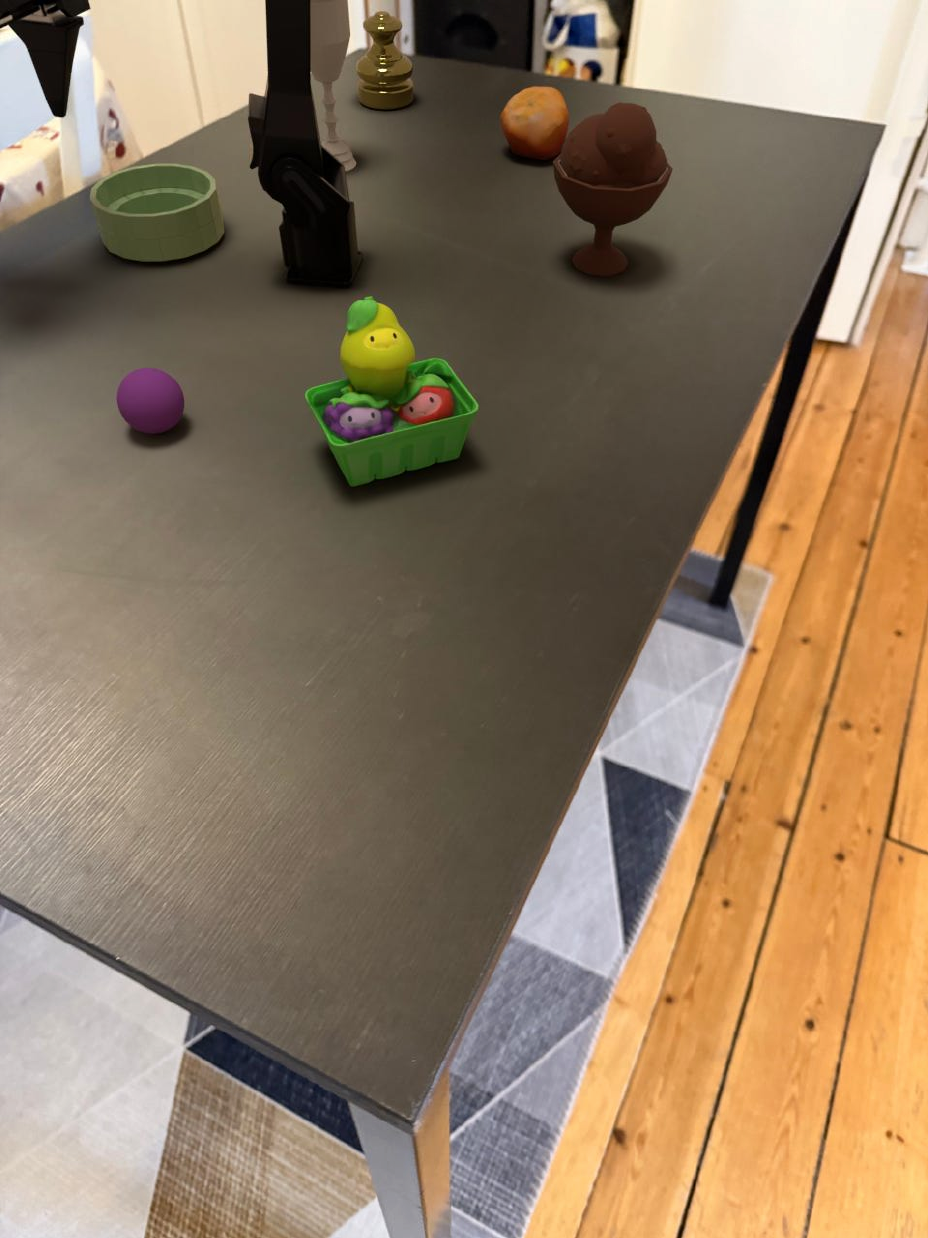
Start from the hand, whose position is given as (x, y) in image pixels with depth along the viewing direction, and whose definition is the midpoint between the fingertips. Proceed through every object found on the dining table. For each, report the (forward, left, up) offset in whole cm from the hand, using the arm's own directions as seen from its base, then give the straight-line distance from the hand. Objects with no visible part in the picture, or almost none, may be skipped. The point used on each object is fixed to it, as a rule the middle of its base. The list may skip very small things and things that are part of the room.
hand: (27, 136), depth 76 cm
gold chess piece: (-20, -53, -14) cm, 58 cm away
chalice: (-18, -32, -14) cm, 39 cm away
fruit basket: (-35, +20, -14) cm, 43 cm away
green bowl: (-5, -11, -14) cm, 18 cm away
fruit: (-41, -39, -14) cm, 58 cm away
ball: (-16, +20, -11) cm, 28 cm away
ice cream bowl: (-50, -13, -14) cm, 53 cm away
